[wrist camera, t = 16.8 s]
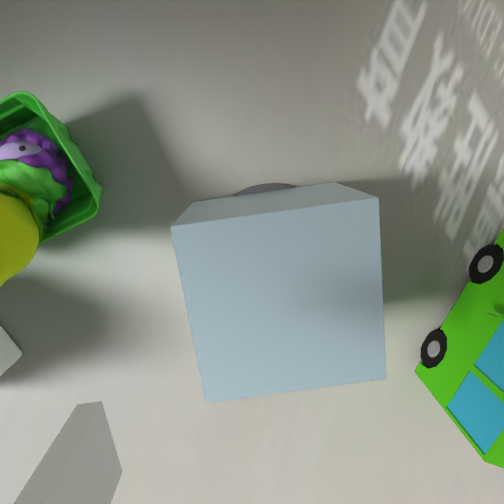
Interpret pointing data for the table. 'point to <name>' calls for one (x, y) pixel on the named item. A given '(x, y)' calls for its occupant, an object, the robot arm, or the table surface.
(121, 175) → the table surface
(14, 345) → the medicine bottle
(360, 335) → the pale blue cube
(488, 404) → the toy car
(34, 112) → the fruit basket
